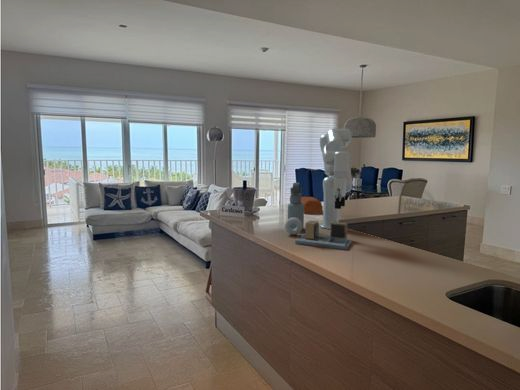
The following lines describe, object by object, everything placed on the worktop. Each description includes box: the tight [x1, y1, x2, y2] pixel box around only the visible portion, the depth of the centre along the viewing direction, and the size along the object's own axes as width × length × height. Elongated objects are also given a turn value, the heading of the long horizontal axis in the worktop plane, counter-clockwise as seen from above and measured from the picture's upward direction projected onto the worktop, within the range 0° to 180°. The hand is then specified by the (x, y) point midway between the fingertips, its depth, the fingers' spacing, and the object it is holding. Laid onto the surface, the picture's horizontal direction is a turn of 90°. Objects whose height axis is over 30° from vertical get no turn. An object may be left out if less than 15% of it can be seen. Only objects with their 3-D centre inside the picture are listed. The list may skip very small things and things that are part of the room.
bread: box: [301, 196, 323, 215], centre depth 276 cm, size 16×27×11 cm, turn 5°
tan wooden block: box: [329, 221, 349, 239], centre depth 188 cm, size 5×8×9 cm, turn 65°
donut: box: [284, 218, 304, 236], centre depth 197 cm, size 10×3×10 cm, turn 91°
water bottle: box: [287, 182, 305, 230], centre depth 211 cm, size 10×10×28 cm
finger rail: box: [294, 220, 352, 251], centre depth 179 cm, size 12×26×11 cm, turn 65°
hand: (339, 207), depth 186 cm, fingers open, 9 cm apart
